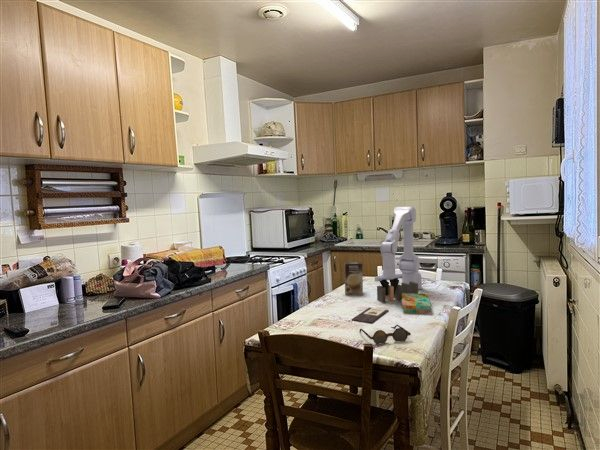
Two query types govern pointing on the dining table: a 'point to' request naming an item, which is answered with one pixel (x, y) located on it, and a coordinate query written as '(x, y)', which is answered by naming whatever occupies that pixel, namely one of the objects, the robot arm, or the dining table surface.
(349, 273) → the coffee box
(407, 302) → the puzzle game
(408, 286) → the domino
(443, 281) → the dining table surface
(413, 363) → the dining table surface
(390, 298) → the domino
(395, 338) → the eyeglasses
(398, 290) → the domino
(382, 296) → the domino
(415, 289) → the domino
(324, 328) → the dining table surface
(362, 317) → the chocolate bar
